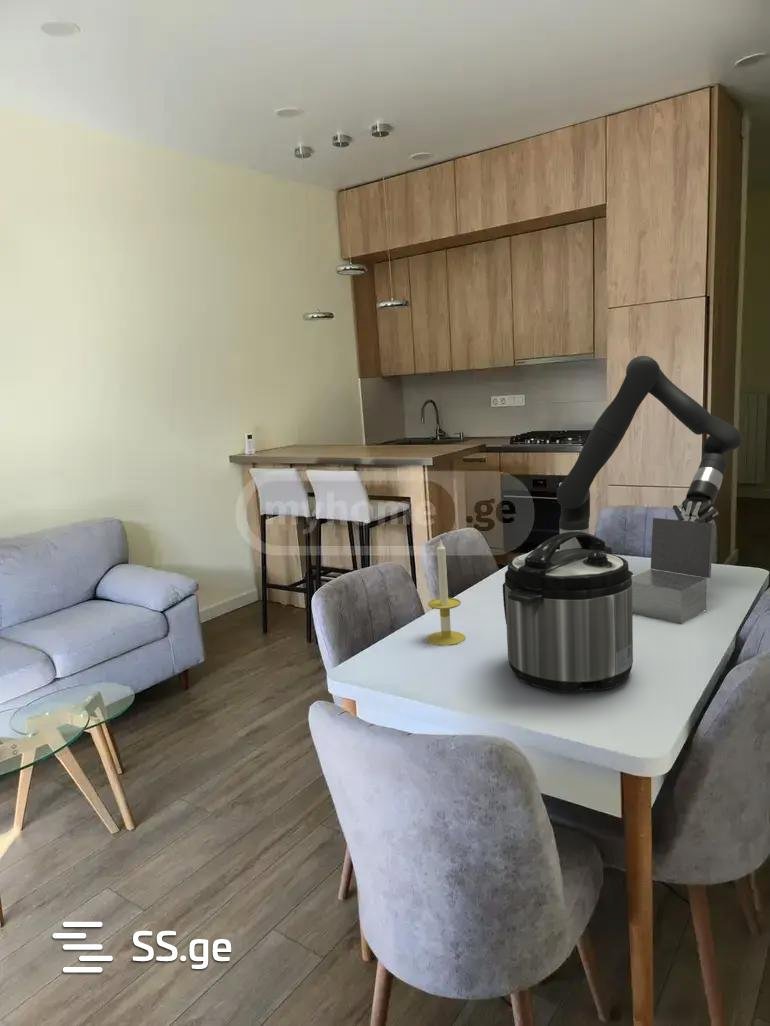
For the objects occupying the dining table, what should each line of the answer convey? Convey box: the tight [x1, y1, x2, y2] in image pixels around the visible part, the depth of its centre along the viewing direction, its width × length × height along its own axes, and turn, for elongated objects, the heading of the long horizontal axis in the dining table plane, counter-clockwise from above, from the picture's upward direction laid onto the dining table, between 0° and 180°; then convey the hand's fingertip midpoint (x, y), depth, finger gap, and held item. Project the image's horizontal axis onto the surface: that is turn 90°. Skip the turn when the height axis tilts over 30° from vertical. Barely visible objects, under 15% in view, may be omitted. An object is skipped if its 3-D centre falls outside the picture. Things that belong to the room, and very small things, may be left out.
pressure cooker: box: [502, 532, 634, 693], centre depth 148 cm, size 30×28×32 cm
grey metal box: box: [632, 568, 708, 625], centre depth 184 cm, size 16×14×9 cm
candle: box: [426, 538, 466, 646], centre depth 174 cm, size 10×10×27 cm
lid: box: [650, 517, 714, 579], centre depth 188 cm, size 17×15×3 cm
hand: (685, 536), depth 188 cm, fingers closed
